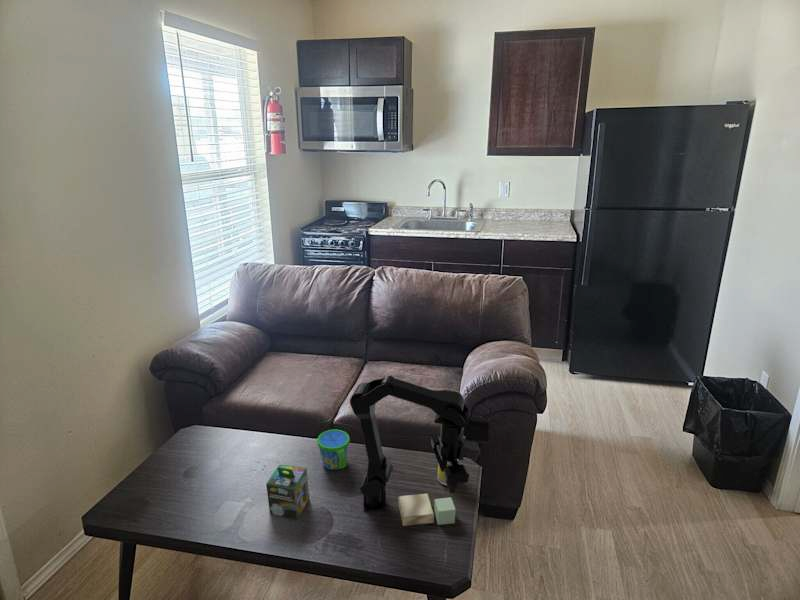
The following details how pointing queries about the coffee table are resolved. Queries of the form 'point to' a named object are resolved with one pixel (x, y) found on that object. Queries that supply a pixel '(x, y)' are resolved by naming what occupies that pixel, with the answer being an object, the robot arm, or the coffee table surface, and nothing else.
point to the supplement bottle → (440, 474)
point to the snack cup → (333, 448)
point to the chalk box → (288, 491)
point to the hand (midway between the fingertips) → (447, 481)
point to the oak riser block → (415, 509)
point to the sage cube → (444, 511)
